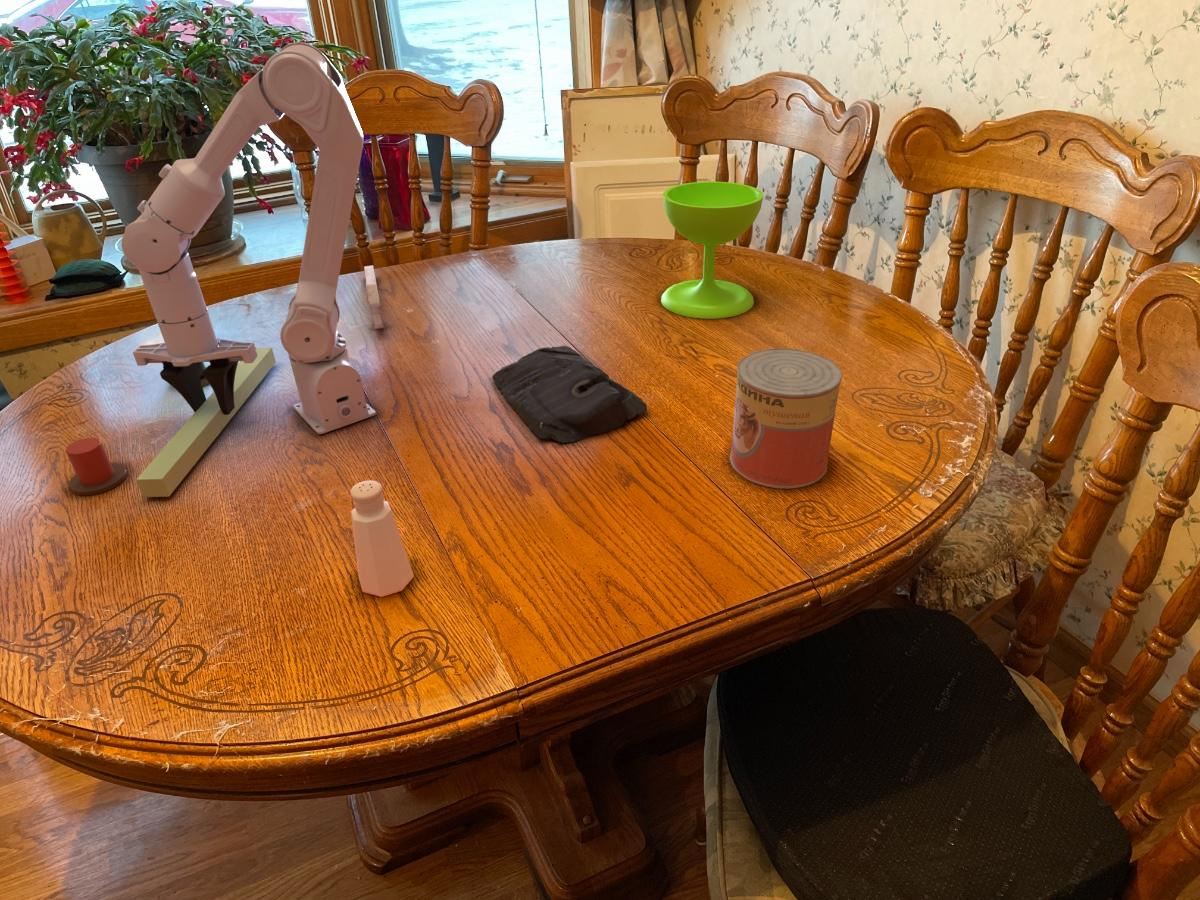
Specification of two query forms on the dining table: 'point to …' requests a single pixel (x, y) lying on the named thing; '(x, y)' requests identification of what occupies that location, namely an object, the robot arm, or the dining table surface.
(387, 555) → the pepper shaker
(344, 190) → the robot arm
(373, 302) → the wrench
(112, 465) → the red top hat
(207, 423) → the bar
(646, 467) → the dining table surface
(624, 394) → the black fabric pouch
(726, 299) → the wineglass
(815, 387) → the canned food
